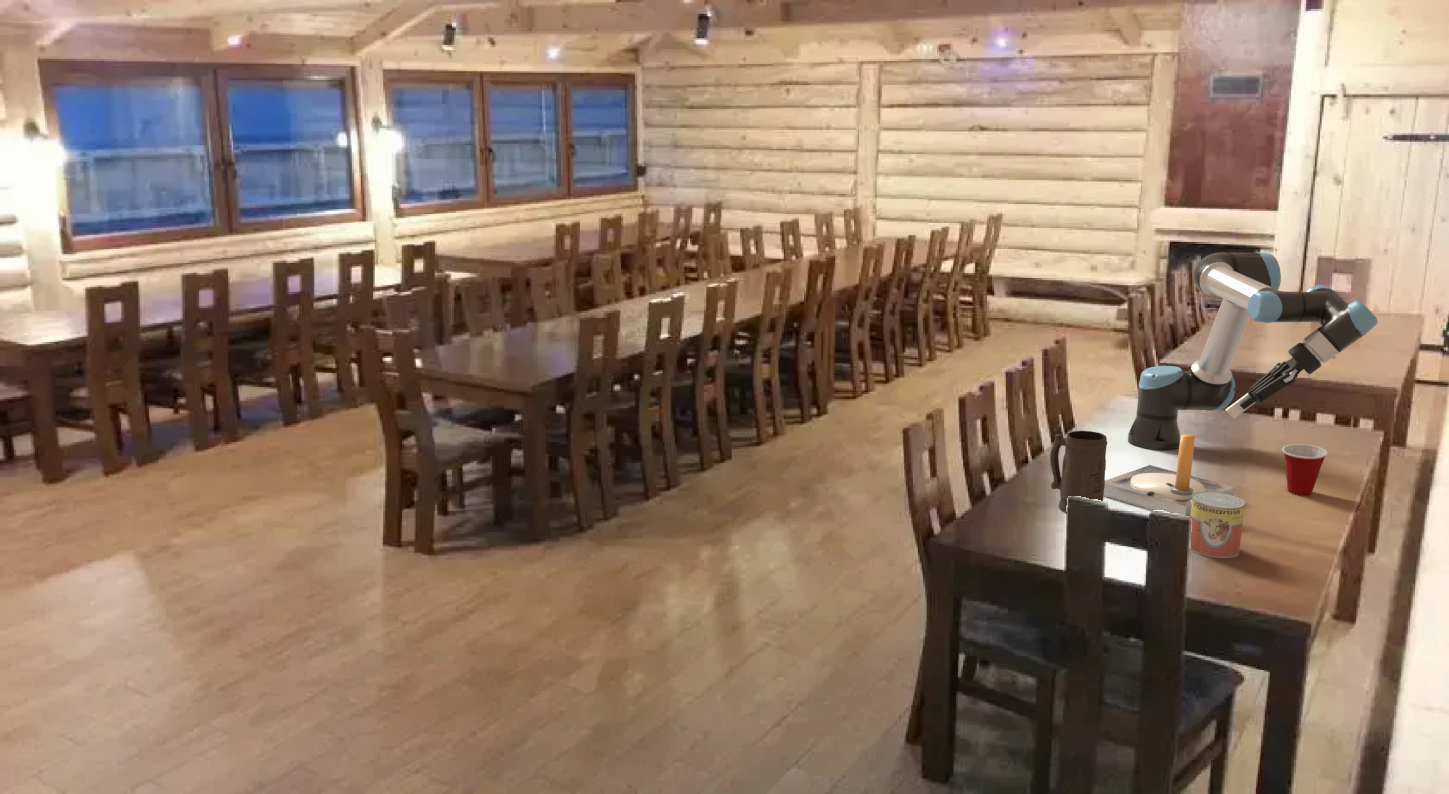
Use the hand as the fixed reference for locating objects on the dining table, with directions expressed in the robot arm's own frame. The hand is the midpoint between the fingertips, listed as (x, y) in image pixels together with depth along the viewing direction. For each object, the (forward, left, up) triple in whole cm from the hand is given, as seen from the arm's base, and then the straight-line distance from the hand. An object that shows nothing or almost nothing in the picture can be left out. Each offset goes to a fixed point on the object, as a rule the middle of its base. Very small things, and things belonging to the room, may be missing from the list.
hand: (1229, 414), depth 281 cm
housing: (-14, -1, -25) cm, 29 cm away
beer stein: (-25, -27, -25) cm, 45 cm away
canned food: (+12, -26, -26) cm, 39 cm away
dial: (-13, -1, -23) cm, 27 cm away
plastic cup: (+6, +31, -25) cm, 40 cm away
